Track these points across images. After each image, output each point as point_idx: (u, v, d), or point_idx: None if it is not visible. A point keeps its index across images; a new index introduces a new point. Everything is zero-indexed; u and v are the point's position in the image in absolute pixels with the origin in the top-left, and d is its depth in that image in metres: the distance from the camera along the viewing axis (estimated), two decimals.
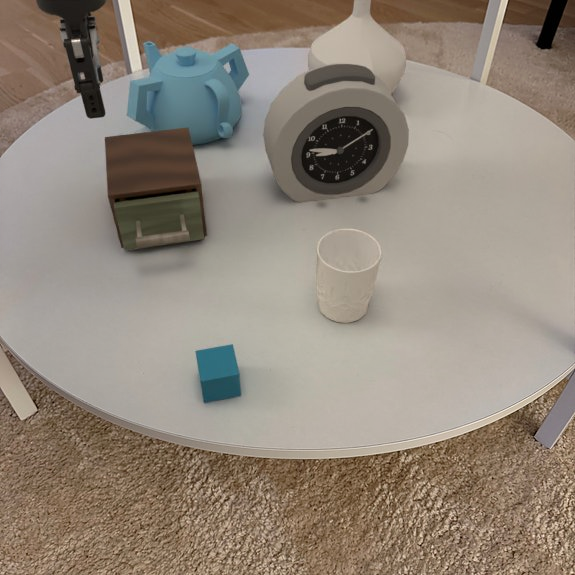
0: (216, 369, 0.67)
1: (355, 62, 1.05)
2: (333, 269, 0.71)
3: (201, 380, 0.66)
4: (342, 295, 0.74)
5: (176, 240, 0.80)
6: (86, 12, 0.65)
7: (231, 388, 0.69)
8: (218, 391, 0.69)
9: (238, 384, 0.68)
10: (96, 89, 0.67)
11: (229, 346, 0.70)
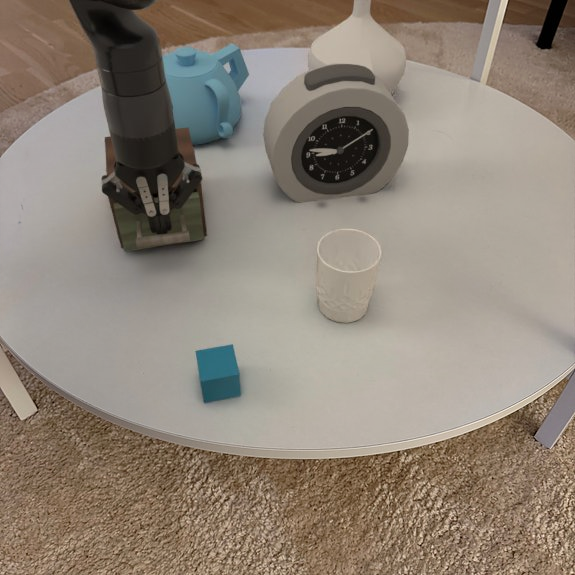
0: (216, 369, 0.67)
1: (355, 62, 1.05)
2: (333, 269, 0.71)
3: (201, 380, 0.66)
4: (342, 295, 0.74)
5: (176, 241, 0.80)
6: None
7: (231, 388, 0.69)
8: (218, 391, 0.69)
9: (238, 384, 0.68)
10: None
11: (229, 346, 0.70)
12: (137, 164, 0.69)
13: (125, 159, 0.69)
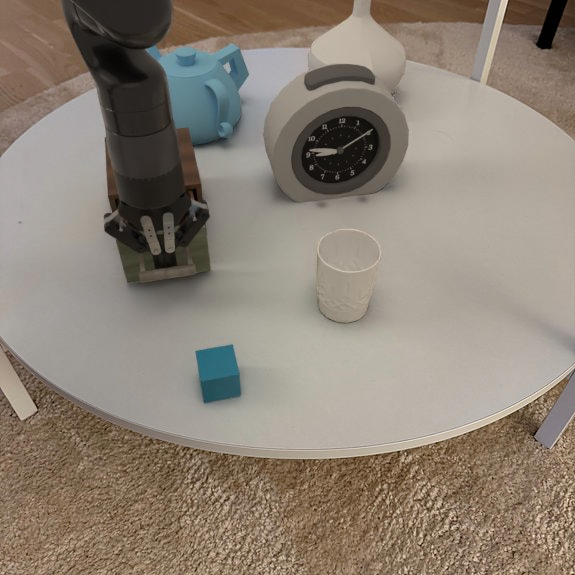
0: (216, 369, 0.67)
1: (355, 62, 1.05)
2: (333, 269, 0.71)
3: (201, 380, 0.66)
4: (342, 295, 0.74)
5: (182, 275, 0.76)
6: None
7: (231, 388, 0.69)
8: (218, 391, 0.69)
9: (238, 384, 0.68)
10: None
11: (229, 346, 0.70)
12: (142, 204, 0.66)
13: (129, 199, 0.66)
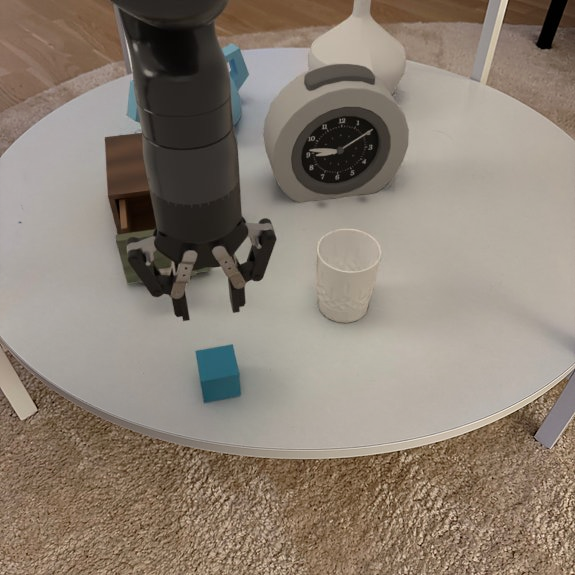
0: (216, 369, 0.67)
1: (355, 62, 1.05)
2: (333, 269, 0.71)
3: (201, 380, 0.66)
4: (342, 295, 0.74)
5: None
6: None
7: (231, 388, 0.69)
8: (218, 391, 0.69)
9: (238, 384, 0.68)
10: None
11: (229, 346, 0.70)
12: (188, 237, 0.50)
13: (171, 230, 0.50)
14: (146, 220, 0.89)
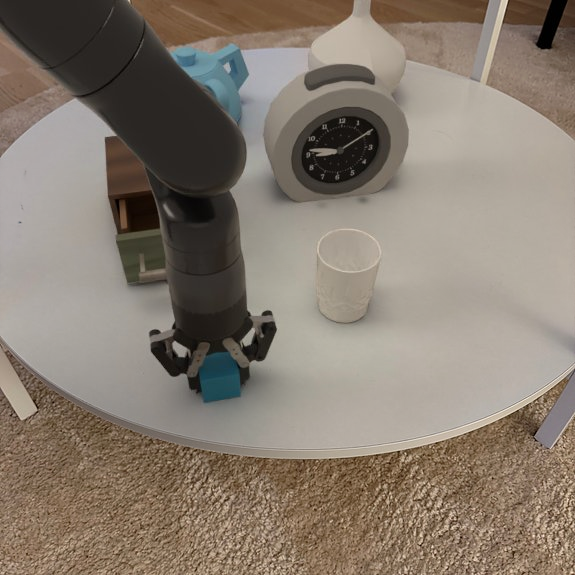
0: (216, 369, 0.67)
1: (355, 62, 1.05)
2: (333, 269, 0.71)
3: (201, 380, 0.66)
4: (342, 295, 0.74)
5: None
6: None
7: (231, 388, 0.69)
8: (218, 391, 0.69)
9: (238, 384, 0.68)
10: None
11: None
12: (203, 337, 0.59)
13: (188, 331, 0.59)
14: (146, 220, 0.89)
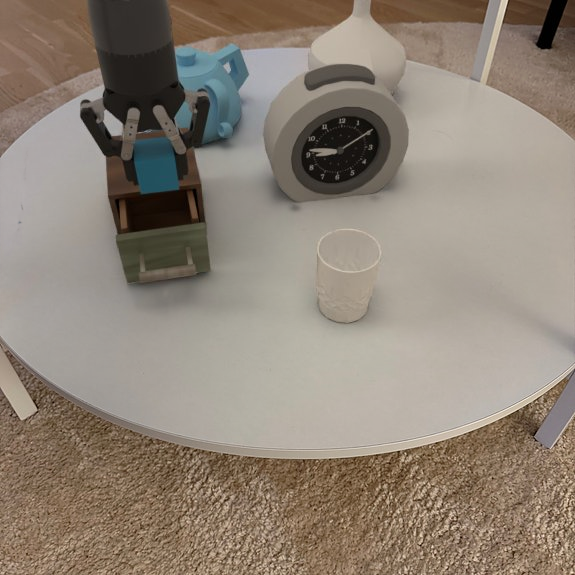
0: (152, 154, 0.67)
1: (355, 62, 1.05)
2: (333, 269, 0.71)
3: (135, 161, 0.66)
4: (342, 295, 0.74)
5: (182, 275, 0.76)
6: None
7: (168, 177, 0.68)
8: (155, 179, 0.68)
9: (175, 172, 0.68)
10: None
11: (167, 138, 0.69)
12: (128, 89, 0.58)
13: (114, 83, 0.58)
14: (146, 220, 0.89)
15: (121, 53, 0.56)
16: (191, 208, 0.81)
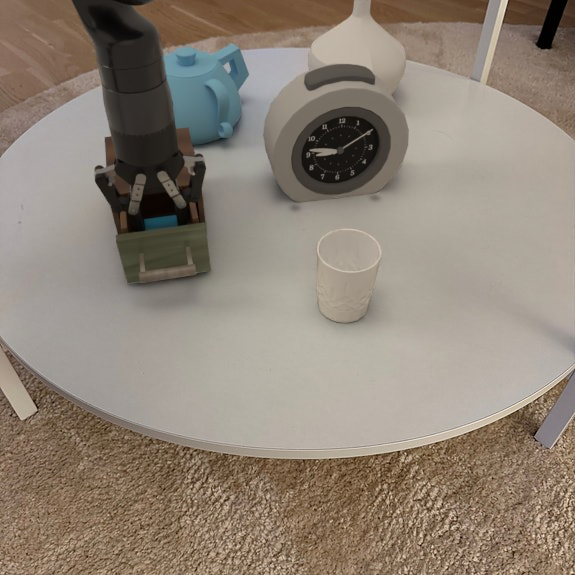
0: None
1: (355, 62, 1.05)
2: (333, 269, 0.71)
3: None
4: (342, 295, 0.74)
5: (182, 275, 0.76)
6: None
7: None
8: None
9: None
10: None
11: (173, 216, 0.83)
12: (137, 161, 0.69)
13: (124, 156, 0.69)
14: None
15: (131, 134, 0.66)
16: (191, 208, 0.81)
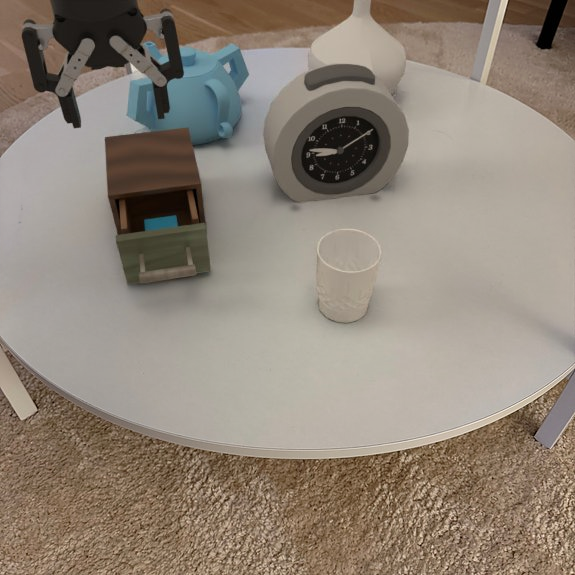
0: None
1: (355, 62, 1.05)
2: (333, 269, 0.71)
3: None
4: (342, 295, 0.74)
5: (182, 275, 0.76)
6: None
7: None
8: None
9: None
10: None
11: (173, 216, 0.83)
12: (79, 13, 0.51)
13: (62, 6, 0.51)
14: None
15: None
16: (191, 208, 0.81)
